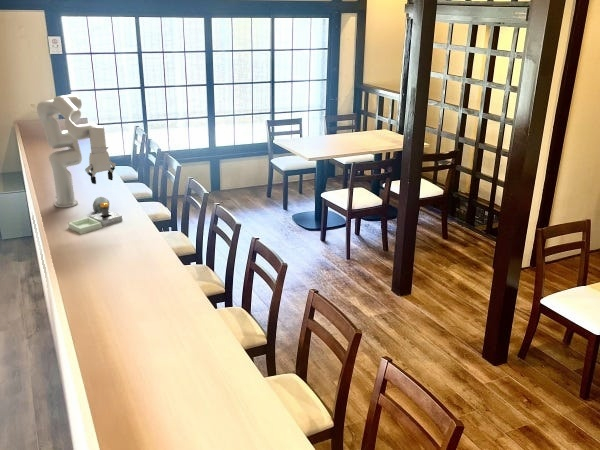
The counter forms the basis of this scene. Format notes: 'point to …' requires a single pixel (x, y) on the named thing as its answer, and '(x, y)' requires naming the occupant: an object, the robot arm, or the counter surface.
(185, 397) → the counter surface
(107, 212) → the pin
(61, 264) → the counter surface
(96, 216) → the grey slotted block
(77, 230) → the tray
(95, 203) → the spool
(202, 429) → the counter surface
